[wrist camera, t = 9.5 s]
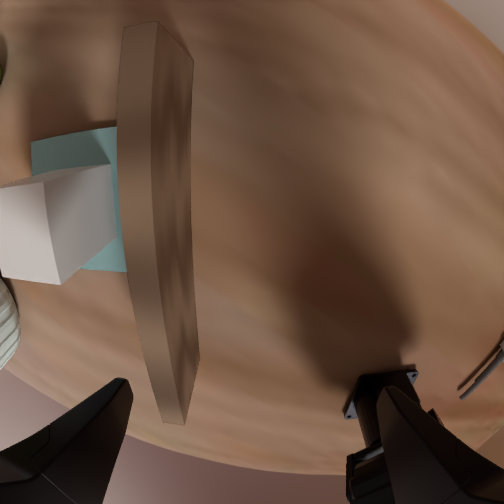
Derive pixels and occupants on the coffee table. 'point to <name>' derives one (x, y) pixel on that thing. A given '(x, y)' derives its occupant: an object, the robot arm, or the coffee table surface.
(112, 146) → the teal mat
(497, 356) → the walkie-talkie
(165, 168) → the walnut screen
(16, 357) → the coffee table surface
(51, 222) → the white rectangular block
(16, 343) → the vase
